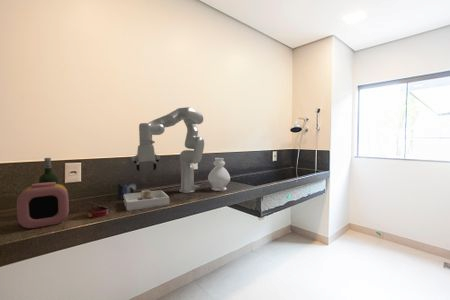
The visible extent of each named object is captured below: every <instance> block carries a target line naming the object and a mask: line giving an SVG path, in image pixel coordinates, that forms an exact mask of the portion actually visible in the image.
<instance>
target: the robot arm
mask: <svg viewBox="0 0 450 300" xmlns="http://www.w3.org/2000/svg"><path fill="white" fill-rule="evenodd" d="M181 121H183V123H184V124H185V127H186V136H185V141H184V147H185V148H186V149H185V150H182V151H181V152H180V153H179V161H180V178H181V179H180V181H181V182H180V183H181V184H180V185H181V187H180V189H179V190H178V191H179V192H180V193H184V194H186V193H187V194H188V193H190V194H191V193H195V192H196V189H197V188H200V187H201V186H200V185H197V184H194V183H195V182H194V178H195V175H194V174H195V173H194V172H195V171H194V170H195V169H194V165H193V164H199V163H201V161H202V159H203V154H204V148H205V139H204V138H203V137H200V136H199V130H198V127H197V125H201V124H203V122H204V115H203V114H202V113H201V112H199V111H197V110H195V109H194V108H192V107H178V108H176V109H175V110H173V111H171V112H169V113H167V114H165V115H163V116H160V117H158V118H156V119H153V120H151V121H148V123H147V122H141V123H139V125H138V133H139V134H138V136H139V145H138V146H137V151H136V154H135V155H134V156H131V158H130V159H131V160H132V162H133V163H134V164H135V165H136V166H135V168H136V170H137V171H138V172H140V163H141V162H142V163H143V162H152V164H153V165H152V166H153V167H152V168H153V170H154V171H156V169H157V164H158V162H160V159H161V156H160V155H158V154H156V153H155V146H154V144H155V141H154V140H153V136H160V135H162V134H164V132H165V131H166V130H165V128H170V127H173V126H176V124H178V123H180V122H181ZM187 149H188V150H187Z"/></svg>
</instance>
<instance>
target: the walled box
mask: <svg viewBox="0 0 450 300" xmlns="http://www.w3.org/2000/svg"><path fill="white" fill-rule="evenodd" d="M123 204H124V207H125V210H126V212H131V211H138V210H139V211H140V210H145V209H151V208H152V209H153V208H159V207H164V206H165V207H166V206H170V196H169V195H168V194H167V193H165V192H164V191H163V190H161V189H160V190H150V199H146V200H142V191H140V192H136V193H131V194H124V200H123Z"/></svg>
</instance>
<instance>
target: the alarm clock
mask: <svg viewBox="0 0 450 300" xmlns="http://www.w3.org/2000/svg"><path fill="white" fill-rule="evenodd" d="M16 199H17V200H16V214H17V215H16V217H17V221H18V224H19V225H21V227H22V228H25V229H37V228H43V227H49V226H55V225H58V224H60V223H62V222H63V221H65V220H66V218H67V217H68V216H69V212H70V206H69V205H70V203H69V191H68V189H67V187H65V185H63V184H61V183H58V184H56V182H46V183H39V182H37V183H32V184H31V186H27V187H25V188H24V189H22V191H21V193H20V194H19V196H18V197H17V198H16Z"/></svg>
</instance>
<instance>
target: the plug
mask: <svg viewBox="0 0 450 300" xmlns="http://www.w3.org/2000/svg"><path fill="white" fill-rule="evenodd" d="M150 191H151V190H150V189H142V190H141V192H142V200H146V199H150Z"/></svg>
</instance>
